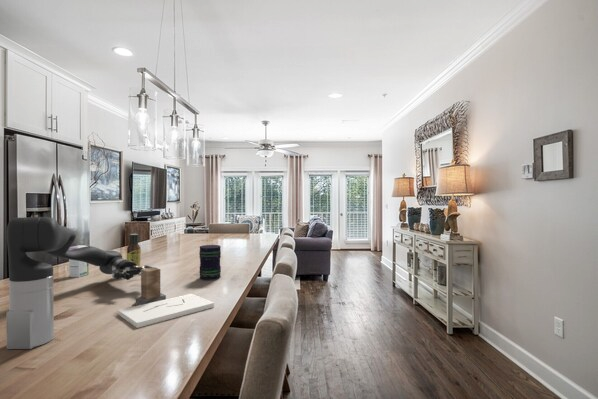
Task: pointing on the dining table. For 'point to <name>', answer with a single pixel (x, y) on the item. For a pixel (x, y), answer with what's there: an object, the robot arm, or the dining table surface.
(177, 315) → the board
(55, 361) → the dining table surface
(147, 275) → the block
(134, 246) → the sauce bottle
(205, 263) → the storage jar
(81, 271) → the syrup box
